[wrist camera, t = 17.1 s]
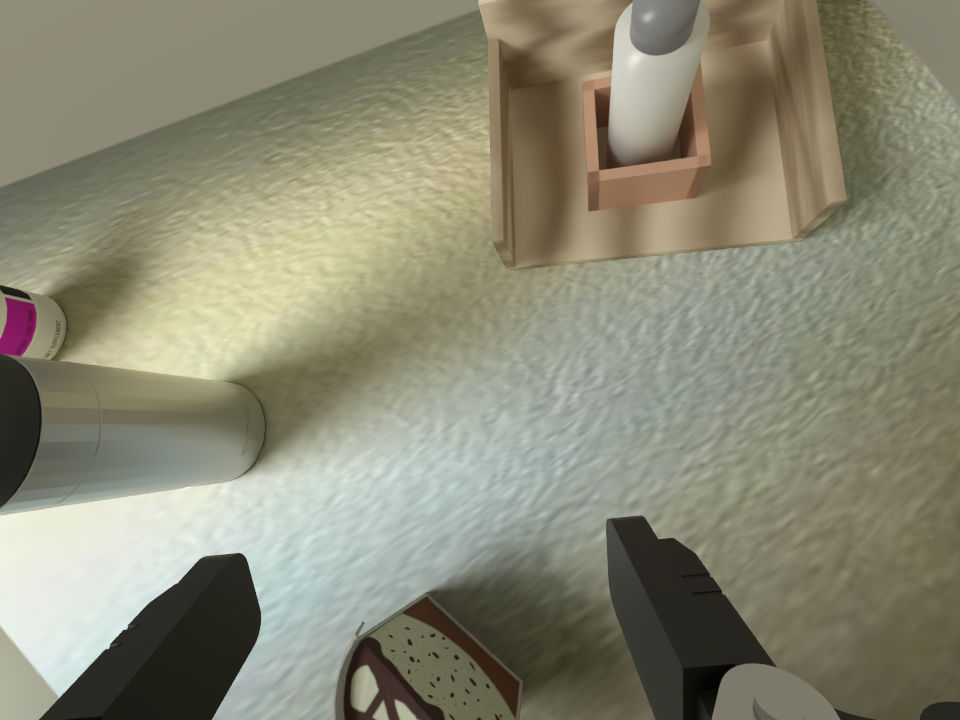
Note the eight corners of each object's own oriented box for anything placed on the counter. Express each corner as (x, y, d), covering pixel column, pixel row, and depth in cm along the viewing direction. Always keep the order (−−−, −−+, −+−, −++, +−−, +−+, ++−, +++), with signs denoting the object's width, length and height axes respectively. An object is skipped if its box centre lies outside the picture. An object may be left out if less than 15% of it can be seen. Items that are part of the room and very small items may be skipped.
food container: (368, 642, 35) (286, 722, 26) (412, 579, 35) (345, 636, 26) (491, 766, 32) (449, 911, 22) (540, 697, 32) (518, 812, 22)
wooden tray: (507, 270, 37) (482, 222, 29) (502, 88, 40) (478, -6, 31) (801, 240, 32) (878, 172, 24) (773, 35, 35) (834, -94, 26)
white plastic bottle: (608, 191, 36) (619, 46, 22) (604, 136, 36) (613, -36, 23) (672, 182, 34) (725, 25, 21) (667, 126, 35) (715, -61, 22)
